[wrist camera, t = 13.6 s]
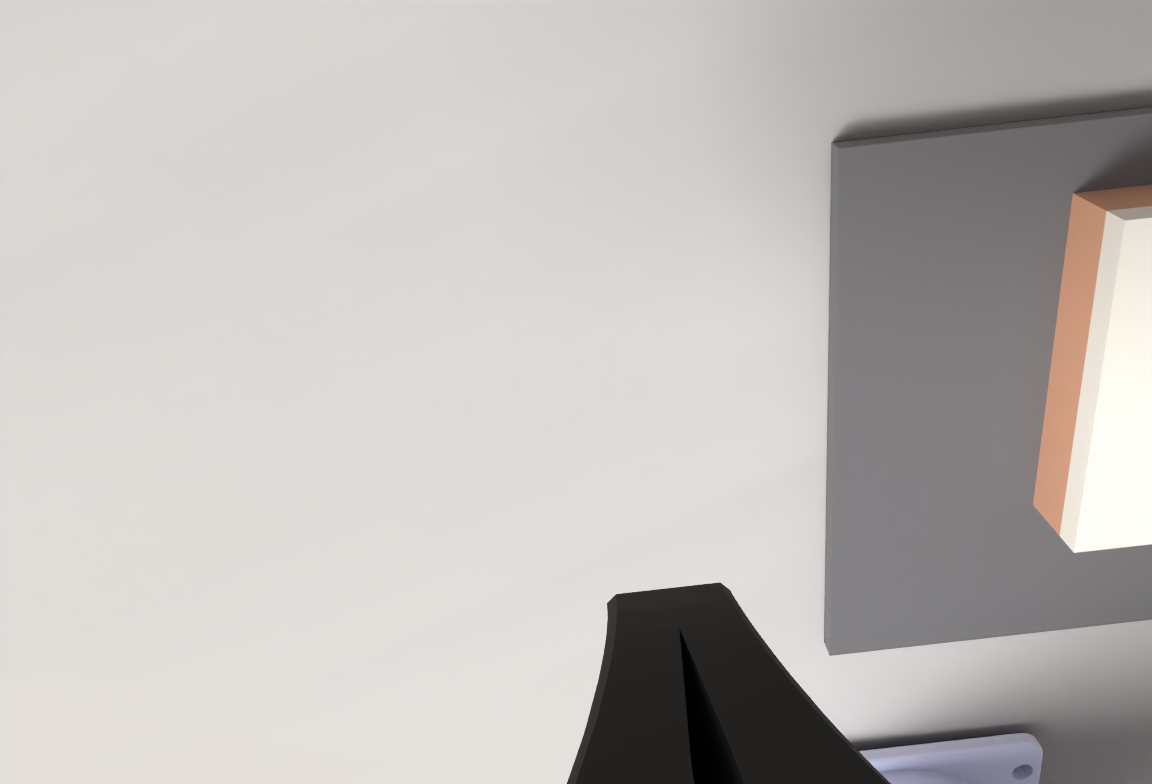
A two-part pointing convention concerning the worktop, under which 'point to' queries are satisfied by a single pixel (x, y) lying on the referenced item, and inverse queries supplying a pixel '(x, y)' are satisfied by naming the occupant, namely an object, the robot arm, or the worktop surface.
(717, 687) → the robot arm
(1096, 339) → the tile
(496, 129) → the worktop surface
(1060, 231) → the mat
